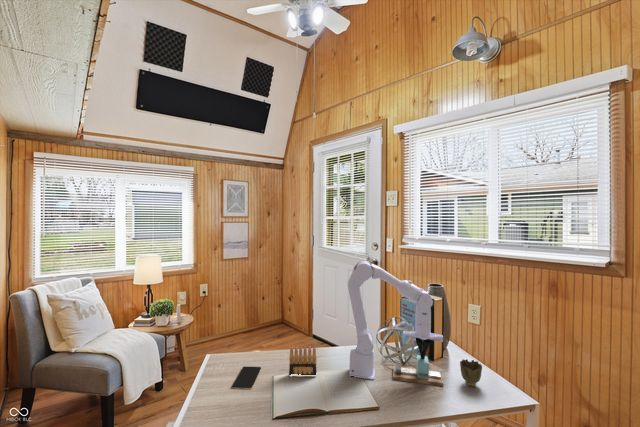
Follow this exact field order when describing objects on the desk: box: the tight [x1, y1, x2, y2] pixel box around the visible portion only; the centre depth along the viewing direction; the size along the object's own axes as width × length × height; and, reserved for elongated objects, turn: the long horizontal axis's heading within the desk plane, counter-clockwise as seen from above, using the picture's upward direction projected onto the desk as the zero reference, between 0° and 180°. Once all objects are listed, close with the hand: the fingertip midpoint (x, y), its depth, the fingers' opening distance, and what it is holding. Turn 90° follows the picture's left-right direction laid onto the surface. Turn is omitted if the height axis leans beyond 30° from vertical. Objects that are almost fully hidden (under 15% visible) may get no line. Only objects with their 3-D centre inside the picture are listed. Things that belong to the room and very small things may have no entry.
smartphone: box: [231, 366, 262, 390], centre depth 120 cm, size 7×1×15 cm
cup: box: [459, 359, 483, 388], centre depth 116 cm, size 8×7×8 cm
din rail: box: [395, 363, 442, 379], centre depth 122 cm, size 17×5×2 cm, turn 76°
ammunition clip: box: [288, 344, 317, 376], centre depth 122 cm, size 11×2×12 cm, turn 91°
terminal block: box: [416, 354, 430, 379], centre depth 121 cm, size 4×7×6 cm, turn 167°
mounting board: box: [392, 364, 444, 387], centre depth 122 cm, size 18×9×1 cm, turn 76°
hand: (422, 357), depth 121 cm, fingers closed
